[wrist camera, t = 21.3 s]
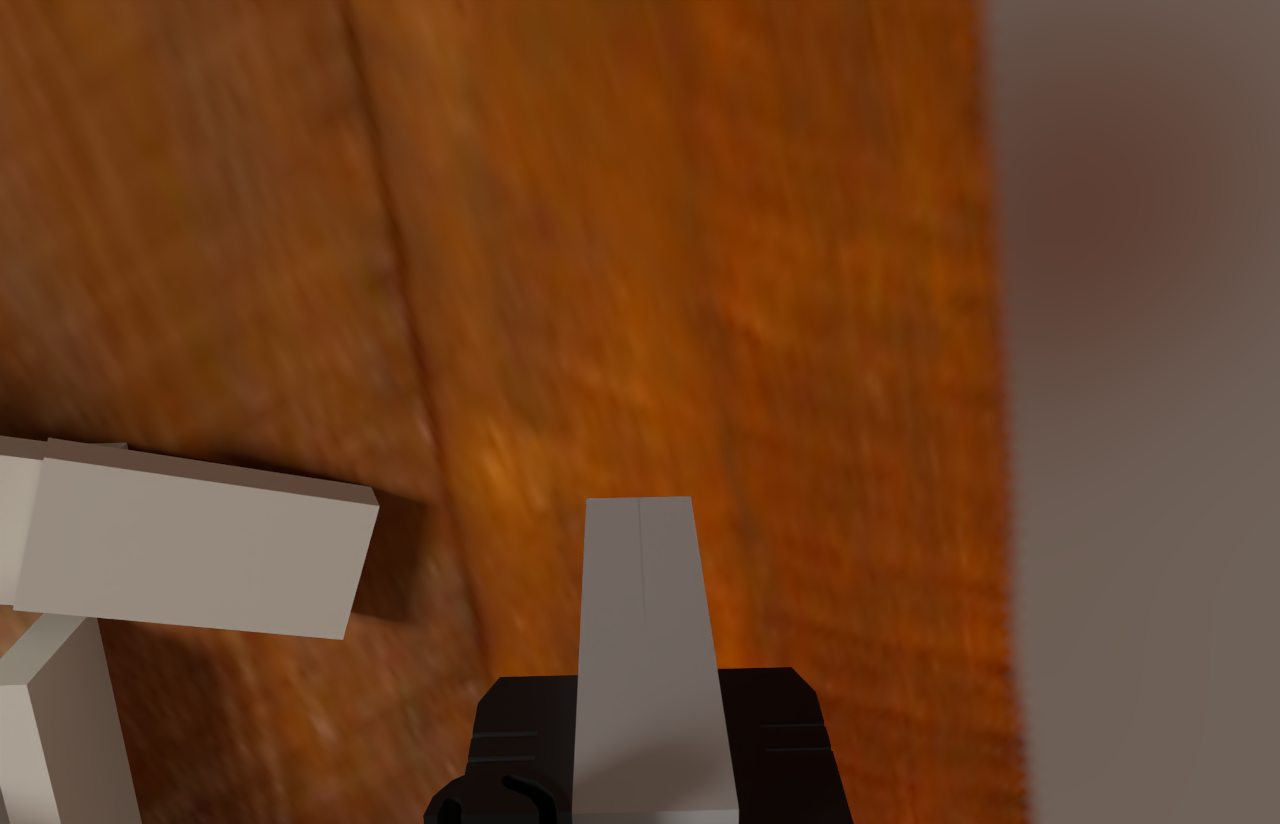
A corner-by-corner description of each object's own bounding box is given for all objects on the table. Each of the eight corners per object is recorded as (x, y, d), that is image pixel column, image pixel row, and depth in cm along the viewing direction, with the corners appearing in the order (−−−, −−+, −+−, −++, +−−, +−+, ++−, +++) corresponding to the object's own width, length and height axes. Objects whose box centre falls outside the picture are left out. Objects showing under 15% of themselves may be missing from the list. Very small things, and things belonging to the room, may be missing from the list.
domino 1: (184, 595, 47) (-155, 566, 43) (209, 462, 46) (-139, 417, 41) (183, 618, 45) (-172, 590, 41) (208, 480, 44) (-156, 435, 39)
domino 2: (49, 607, 48) (102, 835, 53) (-27, 686, 43) (39, 935, 47) (96, 606, 48) (145, 834, 53) (26, 684, 43) (88, 933, 47)
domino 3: (335, 616, 48) (18, 584, 43) (371, 486, 47) (48, 437, 41) (342, 639, 46) (12, 610, 41) (379, 506, 45) (43, 457, 40)
